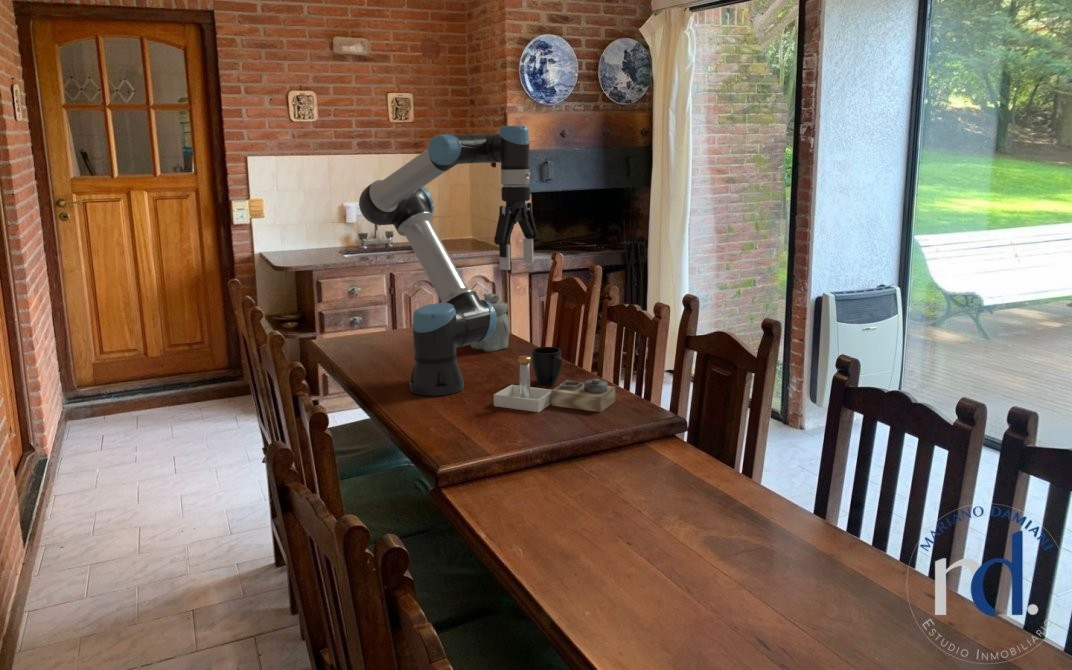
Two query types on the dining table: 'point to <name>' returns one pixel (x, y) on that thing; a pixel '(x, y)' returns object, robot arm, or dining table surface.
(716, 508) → the dining table surface
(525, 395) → the pin
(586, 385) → the beige compartment box
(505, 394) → the tray
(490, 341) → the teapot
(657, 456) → the dining table surface
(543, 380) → the mug
